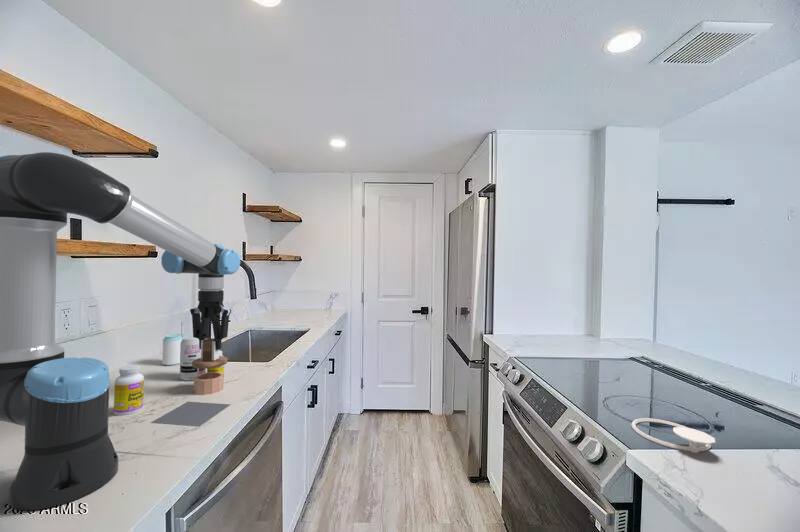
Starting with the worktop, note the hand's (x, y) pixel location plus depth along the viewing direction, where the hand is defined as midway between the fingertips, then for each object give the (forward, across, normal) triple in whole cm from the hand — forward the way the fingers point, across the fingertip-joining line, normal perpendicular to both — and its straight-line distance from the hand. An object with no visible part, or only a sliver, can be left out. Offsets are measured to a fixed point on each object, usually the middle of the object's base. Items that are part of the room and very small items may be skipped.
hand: (210, 358), depth 115 cm
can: (+11, +34, -25) cm, 43 cm away
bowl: (+11, 0, 0) cm, 11 cm away
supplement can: (+11, +14, -11) cm, 21 cm away
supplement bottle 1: (+11, +12, +18) cm, 24 cm away
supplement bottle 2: (+11, +5, -11) cm, 16 cm away
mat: (+11, -7, +17) cm, 21 cm away
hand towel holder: (+11, -139, +12) cm, 140 cm away
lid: (+2, 0, 0) cm, 2 cm away
